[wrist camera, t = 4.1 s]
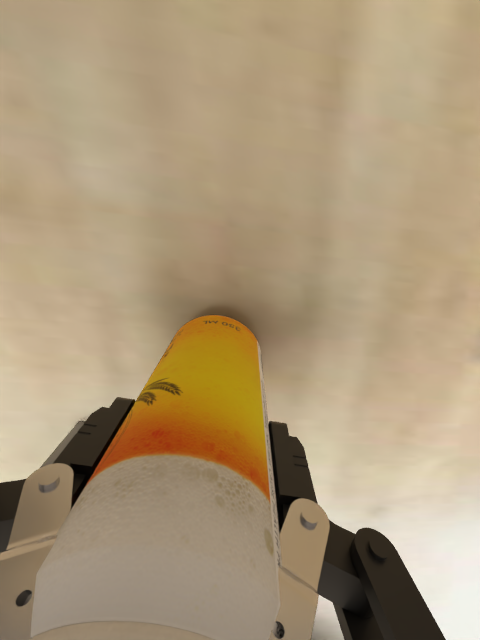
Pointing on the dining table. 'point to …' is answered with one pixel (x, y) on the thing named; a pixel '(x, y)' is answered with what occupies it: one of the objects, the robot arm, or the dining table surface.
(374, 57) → the dining table surface
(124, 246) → the dining table surface
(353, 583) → the robot arm
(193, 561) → the beer can
